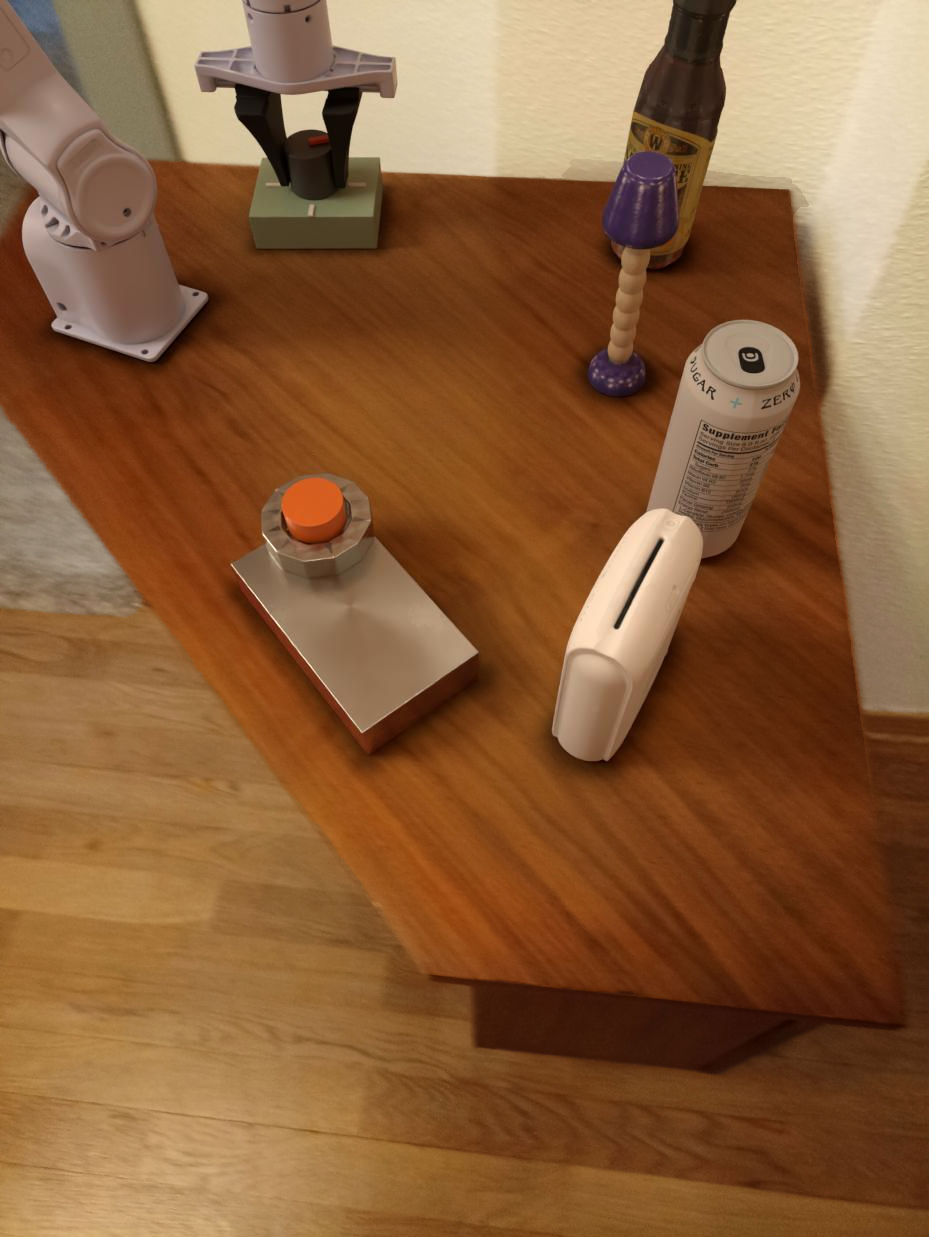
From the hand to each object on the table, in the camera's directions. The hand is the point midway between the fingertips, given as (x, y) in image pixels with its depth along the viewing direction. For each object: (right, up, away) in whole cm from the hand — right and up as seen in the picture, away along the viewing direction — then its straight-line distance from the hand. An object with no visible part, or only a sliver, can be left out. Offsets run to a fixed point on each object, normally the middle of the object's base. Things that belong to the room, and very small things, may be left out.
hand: (315, 180), depth 72 cm
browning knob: (0, 0, 0) cm, 0 cm away
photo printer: (+21, -40, -20) cm, 49 cm away
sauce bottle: (+27, -6, +1) cm, 28 cm away
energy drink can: (+27, -30, -14) cm, 43 cm away
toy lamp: (+23, -18, -7) cm, 30 cm away
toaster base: (+6, -37, -18) cm, 41 cm away
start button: (+3, -30, -19) cm, 36 cm away
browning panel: (0, -2, +3) cm, 3 cm away
